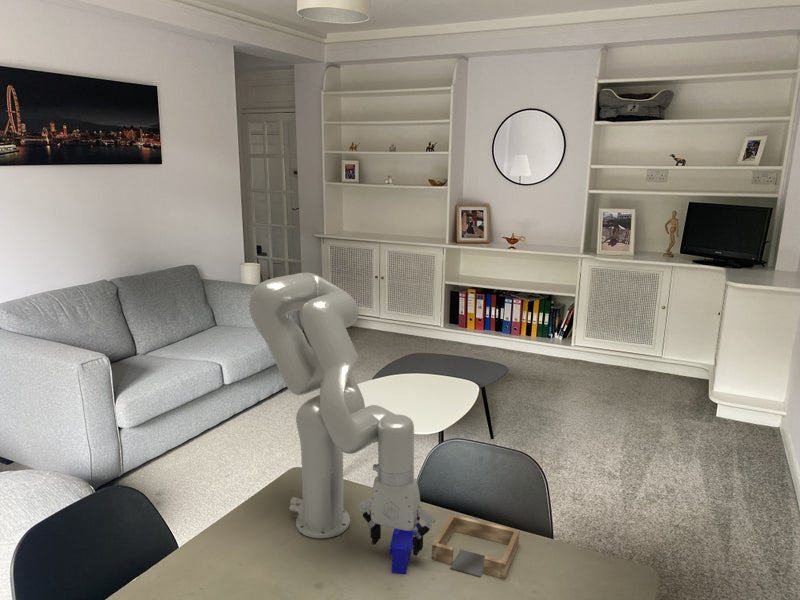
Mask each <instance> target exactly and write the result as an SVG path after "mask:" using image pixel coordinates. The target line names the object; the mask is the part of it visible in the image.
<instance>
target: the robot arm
mask: <svg viewBox="0 0 800 600" xmlns="http://www.w3.org/2000/svg"><path fill="white" fill-rule="evenodd" d="M248 304H249V305H248V306H249V313H250V317H251V320H252V322H253V324H254V326H255V328H256V330H257V331H258V333H259V334H260V336H261V337H262V339H263V340H264V342H265V343H266V345H267V347H268V349H269V351H270V353H271V356H272V358H273V360H274V362H275V365H276V366H277V369H278V371H279V373H280V375H281V377H282V380H283V382H284V384H285V386H286V387H287V389H288V390H289V392H290V393H292V394H293V395H297V396H303V395H306V394H309V393H313V392H314V391H317V390H319V394H318V395H315V396H313V397H311V398H310V399H308V400H306V401H305V402H304V403H303V404H301V405H300V407H299V408H298V410H297V413H296V417H295V421H296V422H295V423H296V429H297V432H298V436H299V437H298V438H299V441H300V442H299V443H300V453H301V454H300V455H301V491H302V492H301V495H302V498H299V497H294V496H292V497H291V499H290V502H289V503H290V504H289V505H290V506H289V511H291V512H296V513H297V514H298V515H297V517H296V519H295V520H296V521H295V526H296V529H297V530H298V532H299V533H301V534H302V535H303V536H306V537H309V538H314V539H330V538H333V537H336V536H339V535H341V534H342V533H344V532H345V531H346V530H347V529H348V528H349V526H350V523H351V516H350V514H349V512H348V511H347V510H346V509H344V453H345V454H348V455H353V454H357V453H359V452H360V451H362V450H364V449H366V448H367V447H369V446H370V445H372V444H376V443H377V451H378V452H377V455H378V456H377V463H374V464H373V465H372V470H373V471H375V472H377V476H376V477H375V478H374V480H373V487H372V490H371V492H372V493H371V498H370V499H367V500H363V501H361V503H359V505H358V507H359V509H360V512H361V513H362V518H364V520H365V521H366V522H367V526H368V527H369V529H370V539H371V545H372V546H373V545H374V546H375V545H376V544H377V543H378V542H379V541H380V539H381V537H382V534H381V533H382V532H381V530H382V527H381V526H383V527H388V528H391V529H394V528H395V529H399V530H404V531H412V533H413V534H414V538H413V547H412V554H413V555H414V556H418V554H419V553H420V551H422V550H423V548H424V536H425V535H427V533H429V531H430V530H431V528H432V527H433V525H434V523H435V522H436V518H435V517H434V516H432V515H431V514H429V513H428V512H427V511H426V510H424V509H422V507H421V506H422V505H421V497H420V496H421V495H420V489H419V485H418V481H417V478H415V468H414V467H415V424H414V422H413V420H412V418H410V417H409V416H406V415H404V414H397V413H394V412H391V410H388V409H386V408H384V407H382V406H380V405H377V404H371V405H367V406H366V405H365V399H364V395H363V394H362V391H361V390H360V388H359V386H358V383H357V381H356V379H355V377H354V375H353V373H352V372H353V371H354V369H355V367H356V365H357V364H358V363H359V355H358V353H357V351H356V349H355V345H354V343H353V342H352V339H351V337H350V335H349V333H348V330H347V328H349V327H351V326H353V325H355V324H356V322H357V321H358V320H359V307H358V305H357V302H356V300H355V299H354V298H353V297H352V296H351V295H350V294H349V293H348V292H347V291H346V290H344V289H342V288H340V287H339V286H337V285H335V284H334V283H332V282H330V281H329V280H327V279H325V278H323V277H322V276H320V275H318V274H315V273H313V272H312V273H311V272H308V271H307V272H306V271H305V272H299V273H294V274H289V275H282V276H276V277H273V278H270V279H266V280H264V281H262V282H260V283H259V284H258V285H256V286H255V287H254V289H252V292H251V294H250V297H249V303H248ZM298 311H299V312H298ZM293 312H298V314H299V322H300V323H301V325H302V328H303V330H304V332H303V330H302V329H301V328H300V327H299V326H298V324H297V323H295V321H293V320H292V319H290V318H289V317H287V315H288V314H290V313H293ZM304 333H305V334H304ZM421 520H422V521H424V522H425V525H423V524H422V523H421Z"/></svg>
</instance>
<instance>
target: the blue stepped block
mask: <svg viewBox="0 0 800 600" xmlns="http://www.w3.org/2000/svg"><path fill="white" fill-rule="evenodd" d="M414 537H415V535H414V534H413V533H412V531H404V530H399V529H395V528H393V531H392V537H391V540H390V541H391V542H390V548H389V555H390V556H391V574H396V575H397V574H398V575H407V571H408V568H409V563H410V559H411V554H412V552H413V538H414Z"/></svg>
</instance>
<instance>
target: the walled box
mask: <svg viewBox="0 0 800 600" xmlns="http://www.w3.org/2000/svg"><path fill="white" fill-rule="evenodd" d="M453 532H458V533H460V534H464V535H467V536H468V535H469V536H472V537H477V538H481V539H484V540H487V541H492V542H495V543H499V544H503V545H507V548H506V550H505V552H504V555H503V557H502V559H498V558H495V557H490V556H487V555H483V554H480V553H475V552H472V551H468V550H465V549H459V551H458V553H457V554H456V556H455V558H454V550H455V549H454V546H450V545H446V544H447V543H448V541H449V539H450V537H451V536H452V535H453ZM519 540H520V530H518V529H513V528H510V527H506V526H501V525H496V524H495V523H489V522H485V521H480V520H477V519H472V518H469V517H466V516H460V515H456V514H450V515H449V517H448V518H447V521H446V522H445V524H444V525H443V527H442V528H441V530H440V532H439V534H438V535H437V536H436V538H435V539H434V540H433V543H432V544H431V560H432V561H433V560H434V561H437V562H441V563H443V564H448V565H450V567H449V570H452V571H456V572H459V573H462V574H467V575H471V576H474V577H477V578H481V577H482V576H483V574H484V575H487V576H490V577H495V578H498V579H501V580H505V579H506V576H507V575H508V572H509V570H510V567H511V564H512V562H513V560H514V557H515V554H516V552H517V551H518V548H519V545H520V544H519Z"/></svg>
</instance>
